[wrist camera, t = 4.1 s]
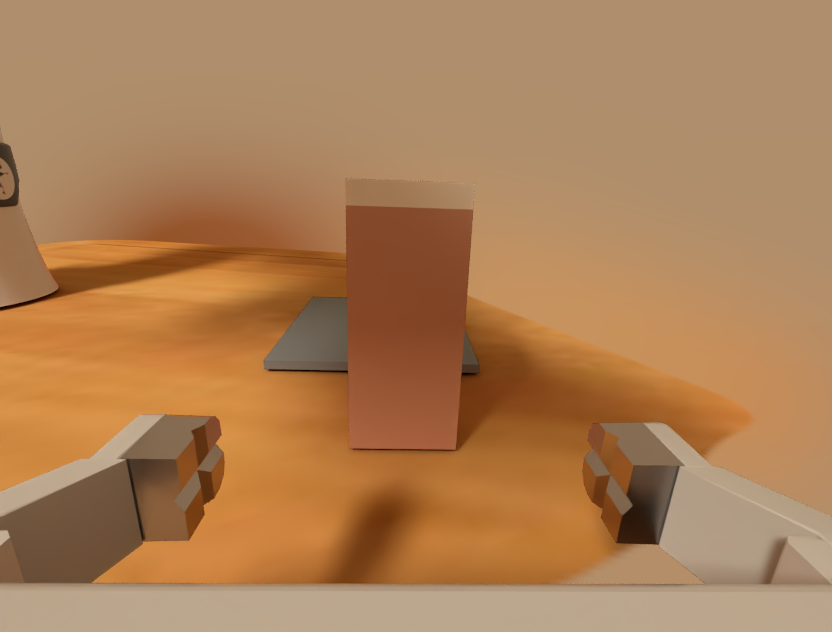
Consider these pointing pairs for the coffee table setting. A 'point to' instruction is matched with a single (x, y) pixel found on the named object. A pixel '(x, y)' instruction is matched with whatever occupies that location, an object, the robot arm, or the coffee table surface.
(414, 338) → the tall block
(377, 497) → the coffee table surface
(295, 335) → the slate mat
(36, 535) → the robot arm
